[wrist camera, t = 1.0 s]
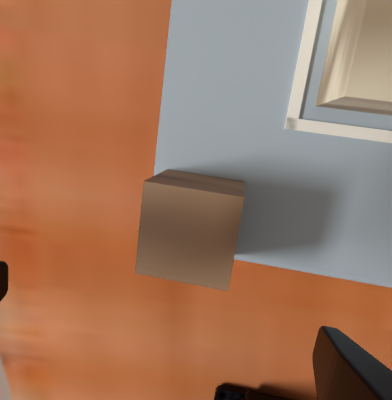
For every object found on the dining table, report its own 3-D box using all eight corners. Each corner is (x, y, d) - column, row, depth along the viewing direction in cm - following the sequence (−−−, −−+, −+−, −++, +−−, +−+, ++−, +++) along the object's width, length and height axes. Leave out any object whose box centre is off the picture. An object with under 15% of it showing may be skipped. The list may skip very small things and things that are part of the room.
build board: (414, 287, 19) (421, 294, 18) (149, 240, 20) (145, 244, 20) (529, -70, 14) (544, -82, 14) (184, -92, 16) (181, -103, 15)
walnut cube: (231, 254, 19) (228, 291, 15) (158, 241, 20) (134, 273, 15) (243, 181, 18) (244, 197, 14) (166, 169, 19) (143, 181, 14)
